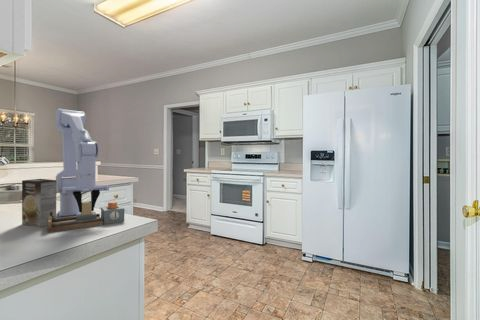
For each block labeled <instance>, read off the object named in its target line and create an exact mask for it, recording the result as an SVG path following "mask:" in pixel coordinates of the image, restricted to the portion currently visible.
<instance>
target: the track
mask: <svg viewBox="0 0 480 320" xmlns="http://www.w3.org/2000/svg"><path fill="white" fill-rule="evenodd" d="M96 214H97V218H94V219H86V220H78V221H77V220H76V215H74V216H65V217H59V218H57V217H56V219H52V216H48V225H47V233H55V232H64V231H70V230H76V229H85V228H90V227H98V226H104V223H103V217H102V218H101V213H96Z"/></svg>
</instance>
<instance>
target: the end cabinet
mask: <svg viewBox="0 0 480 320" xmlns="http://www.w3.org/2000/svg"><path fill="white" fill-rule="evenodd" d="M100 217H101V218H102V217H103V225H106V224H113V223H114V224H115V223H121V222H125V207H124V206H123V205H119V204H117V208H116V209H108V205H107V206H101V207H100Z"/></svg>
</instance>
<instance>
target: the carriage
mask: <svg viewBox="0 0 480 320" xmlns="http://www.w3.org/2000/svg"><path fill="white" fill-rule="evenodd" d="M81 204H82V212H81V213H78V214H76V215H75V216H76V220H77V221H78V220H86V219H94V218H97V214H98V213H96V212H95V211H92V202H91V200H87V201H86V200H85V201H84V200H83V201H82V202H81Z"/></svg>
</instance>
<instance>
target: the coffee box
mask: <svg viewBox="0 0 480 320" xmlns="http://www.w3.org/2000/svg"><path fill="white" fill-rule="evenodd" d="M21 186H22V187H21V208H22V209H21V224H22V225H26V226H32V227H38V228H39V227H44V226H48V216H52V219H57V191H56V186H57V180H56V179H46V178H36V179H35V178H34V179H26V180H22V181H21Z"/></svg>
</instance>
